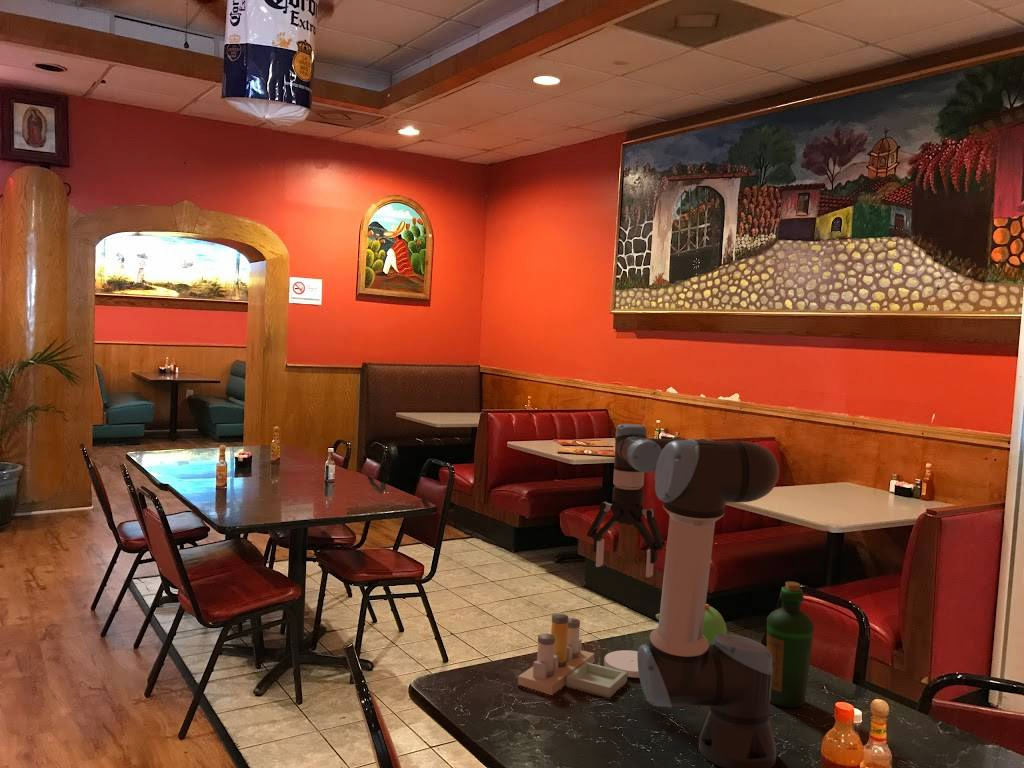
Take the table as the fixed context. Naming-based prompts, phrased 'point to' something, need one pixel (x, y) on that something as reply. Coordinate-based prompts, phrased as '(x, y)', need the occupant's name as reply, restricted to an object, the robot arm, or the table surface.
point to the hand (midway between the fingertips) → (623, 570)
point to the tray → (596, 679)
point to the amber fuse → (560, 637)
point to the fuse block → (555, 661)
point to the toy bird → (711, 624)
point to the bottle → (789, 648)
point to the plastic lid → (623, 662)
